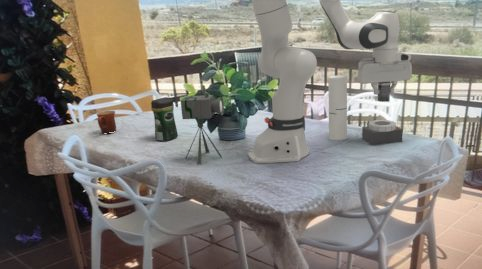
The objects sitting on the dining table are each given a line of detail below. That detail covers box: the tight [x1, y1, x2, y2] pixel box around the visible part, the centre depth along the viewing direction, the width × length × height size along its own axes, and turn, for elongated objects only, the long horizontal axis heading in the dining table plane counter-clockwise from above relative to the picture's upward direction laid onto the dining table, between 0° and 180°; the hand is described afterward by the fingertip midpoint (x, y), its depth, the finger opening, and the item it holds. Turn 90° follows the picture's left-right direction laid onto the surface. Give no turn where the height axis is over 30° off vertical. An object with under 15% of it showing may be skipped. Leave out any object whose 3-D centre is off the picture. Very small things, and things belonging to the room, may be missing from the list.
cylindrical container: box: [327, 74, 348, 141], centre depth 162 cm, size 7×7×25 cm
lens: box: [376, 82, 392, 103], centre depth 152 cm, size 5×5×7 cm
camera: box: [180, 91, 225, 165], centre depth 149 cm, size 16×16×25 cm
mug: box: [96, 110, 117, 134], centre depth 196 cm, size 12×9×10 cm
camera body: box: [361, 119, 404, 146], centre depth 157 cm, size 12×10×7 cm
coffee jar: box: [150, 97, 179, 142], centre depth 179 cm, size 10×8×19 cm
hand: (383, 93), depth 152 cm, fingers closed on lens, 4 cm apart
